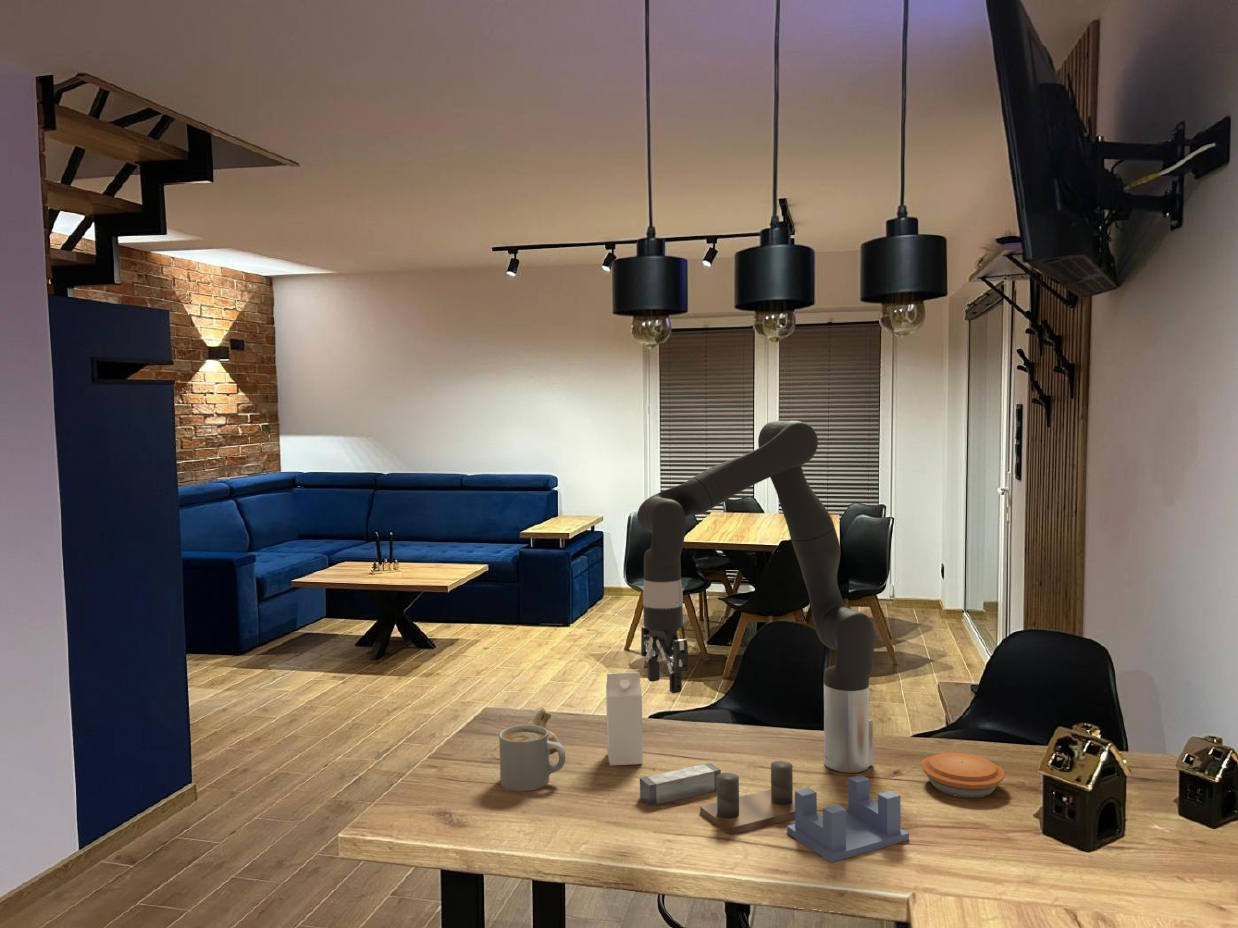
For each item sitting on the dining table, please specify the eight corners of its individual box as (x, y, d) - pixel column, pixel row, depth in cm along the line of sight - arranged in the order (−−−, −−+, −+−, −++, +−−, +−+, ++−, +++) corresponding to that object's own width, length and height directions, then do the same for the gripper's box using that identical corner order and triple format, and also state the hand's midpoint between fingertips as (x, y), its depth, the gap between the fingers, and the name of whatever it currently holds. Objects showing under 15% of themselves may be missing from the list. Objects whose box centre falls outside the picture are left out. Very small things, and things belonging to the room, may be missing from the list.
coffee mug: (491, 787, 177) (490, 738, 176) (513, 768, 186) (512, 722, 186) (552, 796, 172) (551, 746, 172) (572, 776, 182) (571, 729, 181)
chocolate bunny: (525, 747, 199) (524, 703, 198) (560, 745, 200) (559, 702, 199) (525, 756, 193) (524, 711, 193) (561, 754, 194) (560, 710, 194)
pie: (981, 811, 163) (981, 784, 163) (905, 785, 175) (905, 761, 175) (1019, 787, 173) (1019, 762, 173) (945, 764, 185) (945, 741, 185)
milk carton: (607, 753, 194) (605, 668, 193) (639, 752, 195) (637, 667, 194) (609, 766, 187) (608, 678, 186) (642, 764, 187) (641, 676, 187)
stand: (779, 793, 172) (778, 753, 172) (811, 813, 163) (811, 771, 163) (700, 812, 164) (699, 770, 164) (729, 834, 155) (728, 790, 155)
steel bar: (710, 782, 178) (710, 762, 178) (720, 789, 174) (720, 769, 174) (640, 797, 171) (639, 777, 171) (649, 805, 167) (649, 785, 167)
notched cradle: (861, 812, 163) (861, 771, 163) (909, 839, 152) (909, 796, 152) (787, 832, 156) (786, 789, 155) (831, 862, 145) (830, 816, 144)
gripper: (699, 607, 162) (700, 693, 163) (661, 594, 175) (663, 674, 176) (664, 611, 159) (665, 699, 160) (628, 598, 172) (630, 679, 172)
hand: (664, 686), depth 168 cm, fingers open, 8 cm apart
